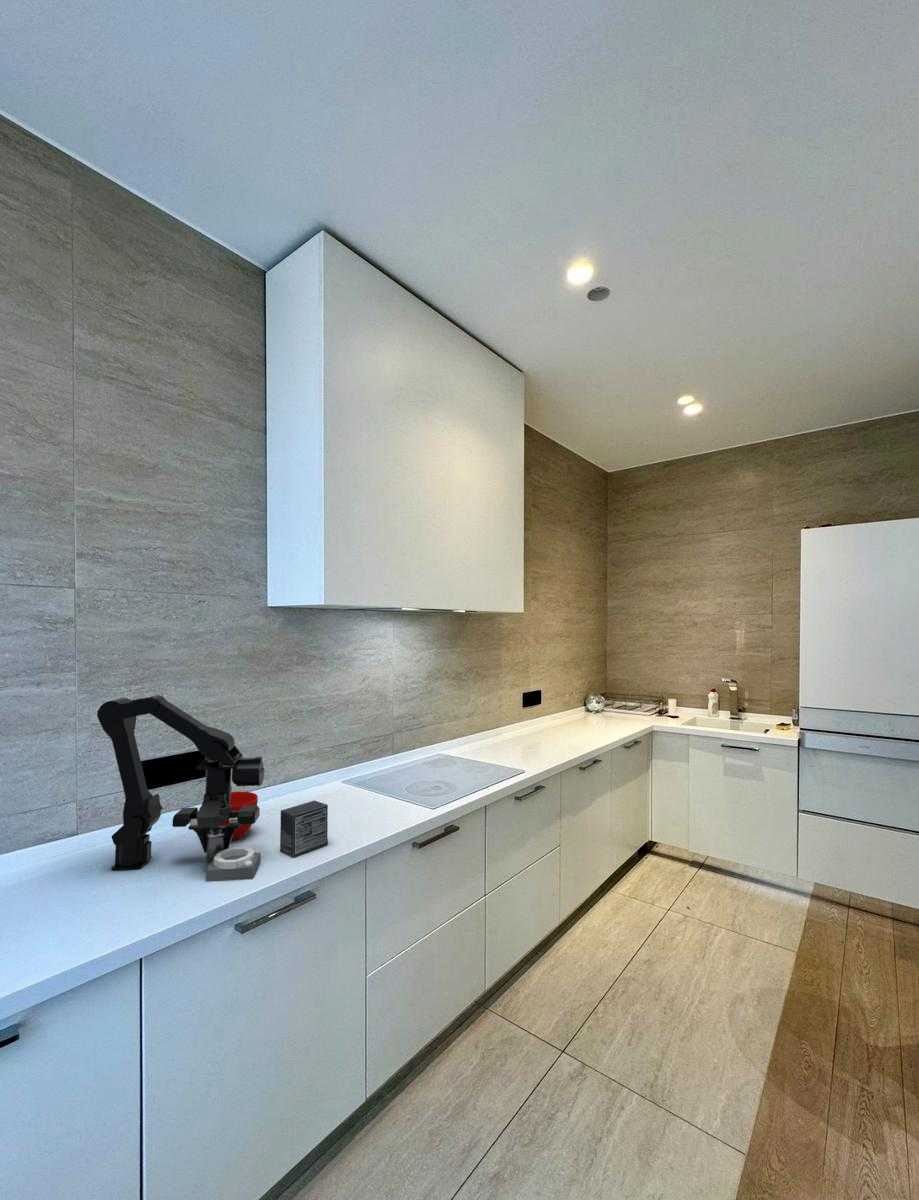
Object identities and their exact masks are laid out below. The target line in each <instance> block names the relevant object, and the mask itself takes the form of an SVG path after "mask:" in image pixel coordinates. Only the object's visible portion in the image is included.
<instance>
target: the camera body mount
mask: <svg viewBox="0 0 919 1200" xmlns="http://www.w3.org/2000/svg"><path fill="white" fill-rule="evenodd" d="M261 857H262V856H261V852H255V849H252V848H250V847H248V846H237V847H236V846H234V847H229V849H226V850H223V851H220V852H218V853H217V854H216V856H215V857H214V859H213V861H212V862H211V863H210V864H208V866H207V868H206V869H205V882H218V881H220V882H221V881H236V880H238V881H239V880H252V879H253V878H254V876H255V875H256V873H257V871H258V869H259V867H260V865H261Z"/></svg>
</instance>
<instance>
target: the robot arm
mask: <svg viewBox="0 0 919 1200" xmlns="http://www.w3.org/2000/svg"><path fill="white" fill-rule="evenodd" d="M148 714H149V715H151V716H153V717H154V718H156V719H158V721H161V722H163V723H164V724H165V725H167V726H169V727H170V728H172V729H173V730H175V731H176V732H178V733H180V734H181V735H182V736H184V737H185V738H187V739H189V740H190V741H191V742H192V743H193V744H194V746H195V747H196V749H197V750H198V751H199V752H200V753H201V754H202V755H203V756H204V757H205V758H204V759H203V760H202V762H201V763H200V764H198V765H197V766H196V770H199V771H200V770H201V771H202V770H205V787H204V788H205V789H204V790H205V791H204V794H203V798H202V799H203V800H202V803H201V806H200V808H199V809H198V807H195V806H194V807H182V808H181V809H180V810H179V811H177V813H175V814H174V815H173V818H172V827H173V828H185V827H188V830H189V831H191V830H192V831H193V832H194V833H196V835H197V837H198V840H199V841H200V845H201V848H202V849H203V850H202V851H203V853H204V854H206V846H207V837H206V832H207V828H217V827H218V826H219V825H220V822H222V821H223V820H228V819H229V821H230V823H229V824H228V825H227V826H226V829H227V835H226V842H225V850H226V849H229V848H230V846H231V843H232V841H233V840H232V838H233V835H234V833H235V831H236V829H237V828H238V827H240V826H241V825H242V824H252V825H253V824H255V823H256V822H257V821H258V819H259V817H260V811H261V810H260V807H259V806H258V804H257V805H252V806H243V807H242V808H241V809H240V811H231V804H230V800H231V792H233V791H232V789H233V788H232V784H233V785H235V786H236V787H256V786H258V787H259V786H262V785H263V782H264V779H265V766H264V762H263V757H262V756H254V757H244V755H243V754H242V753H241V751H240V750H239V749H238V747H237V745H235V739H234V736H233V735H231V734H230V733H229V732H227V731H224V730H221V729H219V728H216V727H212V726H209V725H206V724H204V723H202V722H200V720H197V719H196V718H194V716H192V715H190V714H188V713H187V712H186V711H183V710H182V709H181V708H179V707H178V706H176V705H175V704H173V703H172V702H170V701H168V699H165V697H164V696H163V695H160V694H159V695H158V694H155V695H152V696H149V697H142V698H137V699H130V698H128V697H119V698H115V699H111V700H108V701H106V702H103V703H101V705H100V706H99V708H98V709H97V712H96V715H97V720H98V721H99V724H100V726H101V728H102V730H103V731H104V733H105V734H106V735H107V736H108V737H109V739H110V740H111V743H112V746H113V750H114V755H115V759H116V764H117V768H118V773H119V776H120V781H121V785H122V789H123V792H124V798H125V799H124V805H123V809H122V824H123V825H122V826H120V828H119V829H118V830H117V831H115V832H114V833H113V834H111V839H112V840H111V841H112V843H113V846H115V853H114V865H113V866H111V867H110V868H111V871H118V870H119V871H121V870H123V871H124V870H139V869H142V868H143V866H145V865H146V864H147V863H148V862H149V861H150V860H151V858H153V856H152V842H153V841H152V840H150V837H151V836H150V835H151V834H149V832H151V830H152V829H153V826H154V825H155V824H156V823H157V822H158V821H160V818H161V815H162V810H163V809H164V808H163V806H162V804H161V801H160V799H161V798H160V794H159V793H155V794H154V795H153V794H152V793H151V792H150V790H149V789H148V785H147V782H146V778H145V773H144V768H143V764H142V760H141V757H140V753H139V747H138V744H137V740H136V736H135V729H136V725H137V724H136V723H137V717H138V716H143V715H148ZM232 782H233V783H232ZM188 825H189V826H188Z"/></svg>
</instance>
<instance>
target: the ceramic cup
mask: <svg viewBox="0 0 919 1200" xmlns="http://www.w3.org/2000/svg"><path fill="white" fill-rule="evenodd" d="M258 797H259V796H258V794H256V793H255V792H251V791H241V790H240V791H231V800H230V804H231V811H240V809H241V808H242V807H243V806H252V805H257V806H258V800H259V798H258ZM220 823H223V824H226V825H228V824H229V823H230V821H229V819H228V820H223V821H222V822H220ZM252 825H253V824H242V825H241V826H240V827H238V828H237V829H236V831H235V833H234V835H233V838H232V841H237V840H239V839H242V838H244V837H245V835H246V833H247V832H248V831H249V829H250V828H251V827H252Z"/></svg>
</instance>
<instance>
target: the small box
mask: <svg viewBox="0 0 919 1200" xmlns="http://www.w3.org/2000/svg"><path fill="white" fill-rule="evenodd" d="M328 808H329V805H328V804H327V803H324V802H320V801H317V800H312V801H308V802H304V803H302V804H298V805H295V806H291V807H288V808H285V809H281V810H280V827H279V828H280V833H279V834H280V835H279V836H280V838H279V844H280V846H279V852H281V853H283V854H285V855H287V856H288V857H291V858H292V859H294V858H297V857H299V856H303V855H305V854H308V853H309V852H313V851H316V850H318V849H321V848H323V847H326V846H328V844H329V841H328V838H329V837H328V831H329V830H328V828H329V827H328V825H329V824H328V823H329V822H328V819H329V818H328V817H329V814H328V813H329V812H328Z"/></svg>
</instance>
